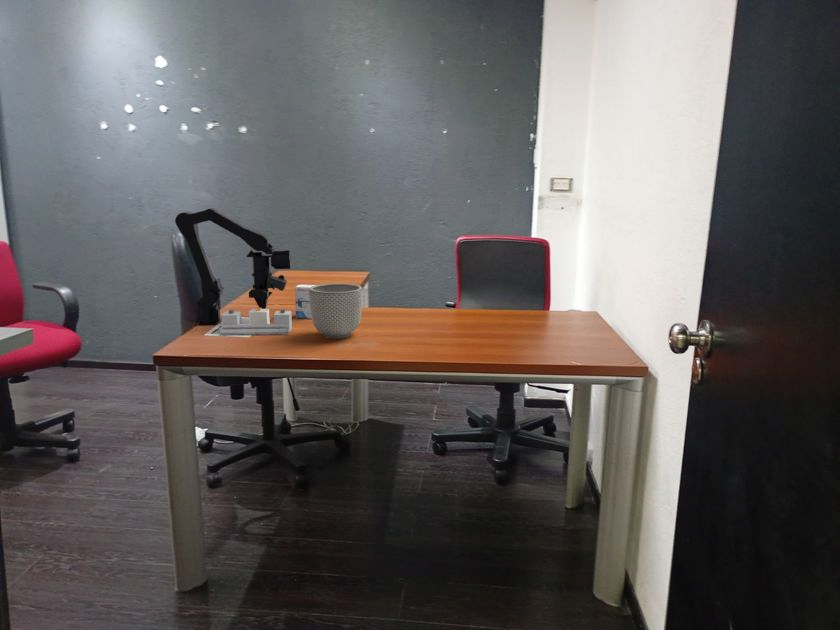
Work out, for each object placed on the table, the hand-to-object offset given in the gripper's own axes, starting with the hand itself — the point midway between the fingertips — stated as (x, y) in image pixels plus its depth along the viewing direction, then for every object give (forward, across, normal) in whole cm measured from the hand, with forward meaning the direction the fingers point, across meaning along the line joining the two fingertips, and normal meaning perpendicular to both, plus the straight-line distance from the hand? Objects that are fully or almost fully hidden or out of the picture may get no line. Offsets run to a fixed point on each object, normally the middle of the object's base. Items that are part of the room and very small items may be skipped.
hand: (263, 312), depth 221 cm
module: (+3, -8, 0) cm, 9 cm away
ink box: (+3, +7, -15) cm, 17 cm away
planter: (+3, -21, -27) cm, 35 cm away
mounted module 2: (+3, -13, -9) cm, 16 cm away
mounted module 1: (+3, -13, +8) cm, 16 cm away
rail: (+3, -17, 0) cm, 17 cm away
